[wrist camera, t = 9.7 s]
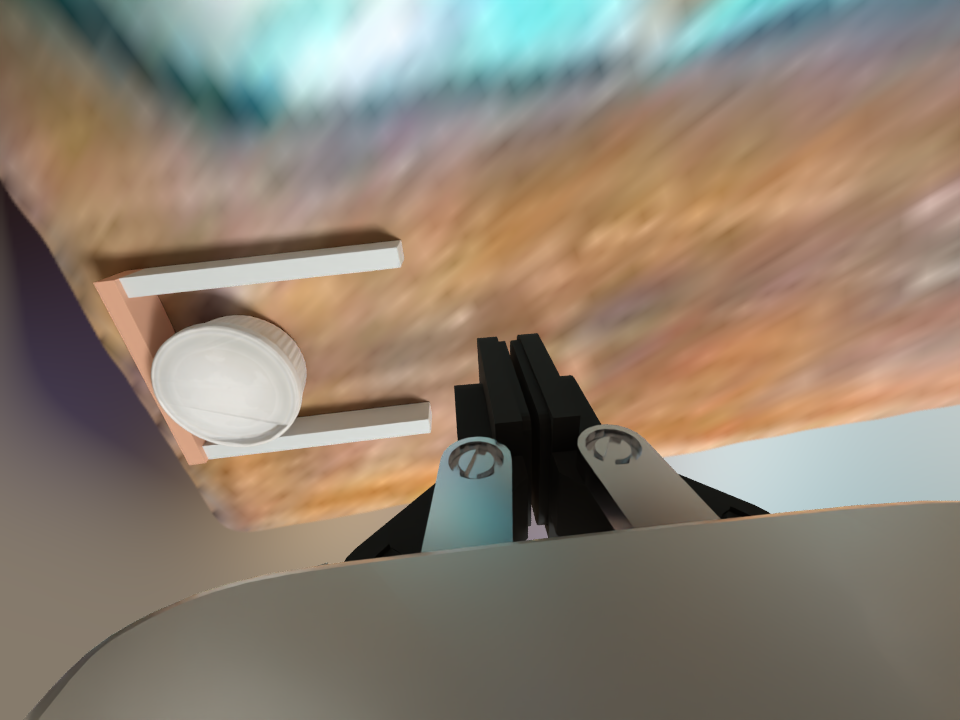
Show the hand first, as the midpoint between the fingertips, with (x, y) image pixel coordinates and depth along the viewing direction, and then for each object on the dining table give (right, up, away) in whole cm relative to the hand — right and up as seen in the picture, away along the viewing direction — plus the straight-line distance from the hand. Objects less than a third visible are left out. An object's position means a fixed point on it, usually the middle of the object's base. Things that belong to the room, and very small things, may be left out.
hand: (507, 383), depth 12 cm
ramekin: (-21, +1, +26) cm, 34 cm away
